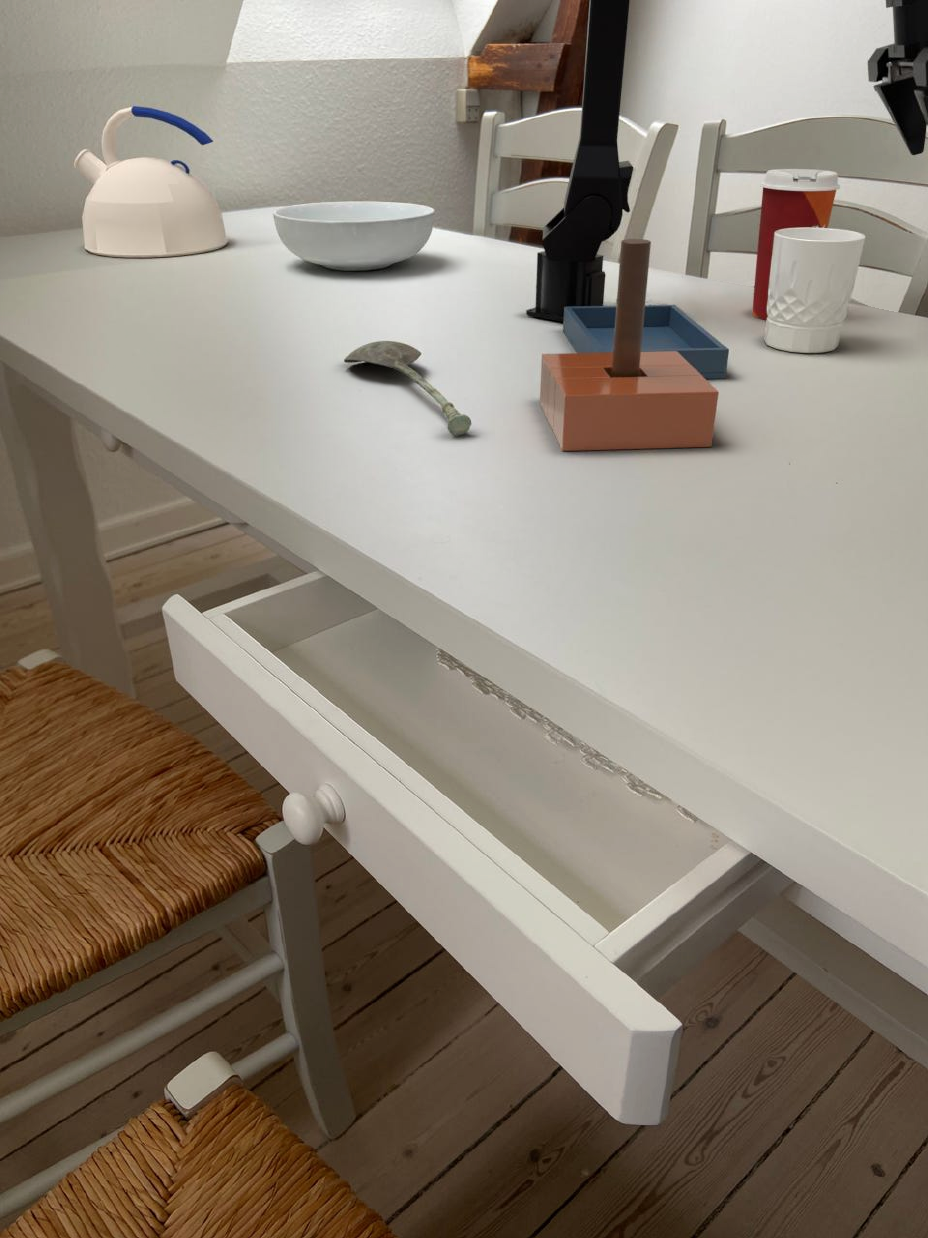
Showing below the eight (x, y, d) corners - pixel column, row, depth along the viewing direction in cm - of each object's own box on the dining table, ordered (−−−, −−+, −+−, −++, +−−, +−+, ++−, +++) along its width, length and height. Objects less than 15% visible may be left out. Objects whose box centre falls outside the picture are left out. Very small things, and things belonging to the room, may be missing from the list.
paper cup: (820, 325, 99) (847, 176, 92) (743, 322, 101) (764, 174, 94) (812, 308, 106) (837, 168, 99) (740, 305, 107) (759, 167, 100)
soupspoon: (407, 364, 89) (338, 375, 87) (404, 326, 88) (333, 337, 86) (501, 429, 71) (416, 444, 69) (499, 384, 70) (413, 398, 68)
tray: (562, 331, 97) (564, 306, 96) (672, 329, 98) (675, 304, 97) (596, 381, 82) (598, 351, 81) (725, 378, 83) (729, 349, 82)
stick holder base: (539, 403, 77) (541, 353, 75) (671, 400, 78) (677, 350, 76) (562, 451, 68) (565, 395, 66) (711, 447, 68) (719, 391, 66)
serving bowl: (465, 260, 131) (465, 205, 128) (372, 287, 116) (369, 226, 112) (344, 246, 141) (341, 195, 137) (243, 269, 125) (237, 212, 122)
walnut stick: (601, 424, 73) (615, 241, 66) (616, 418, 74) (631, 237, 67) (624, 430, 71) (640, 244, 65) (639, 423, 73) (656, 240, 66)
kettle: (120, 233, 151) (98, 102, 142) (248, 236, 149) (234, 103, 140) (55, 256, 134) (26, 108, 125) (199, 259, 131) (179, 109, 122)
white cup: (844, 338, 95) (865, 229, 90) (843, 358, 88) (866, 242, 83) (761, 331, 97) (777, 225, 92) (754, 351, 91) (771, 238, 86)
